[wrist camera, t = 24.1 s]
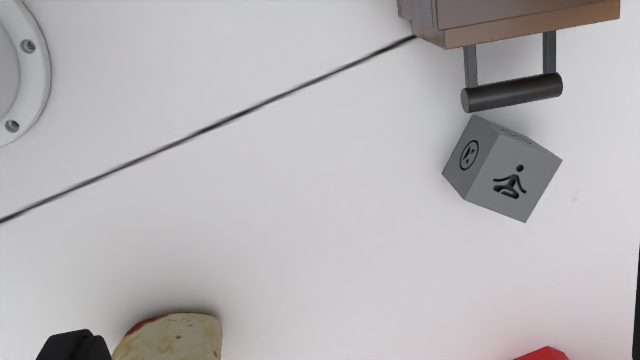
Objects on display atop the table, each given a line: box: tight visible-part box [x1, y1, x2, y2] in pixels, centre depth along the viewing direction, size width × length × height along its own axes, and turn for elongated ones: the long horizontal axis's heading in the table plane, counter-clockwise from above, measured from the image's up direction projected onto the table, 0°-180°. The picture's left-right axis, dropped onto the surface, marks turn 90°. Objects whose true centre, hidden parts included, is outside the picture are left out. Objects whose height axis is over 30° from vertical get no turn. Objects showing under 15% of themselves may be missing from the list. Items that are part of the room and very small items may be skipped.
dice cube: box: [442, 115, 563, 223], centre depth 39 cm, size 5×5×5 cm
